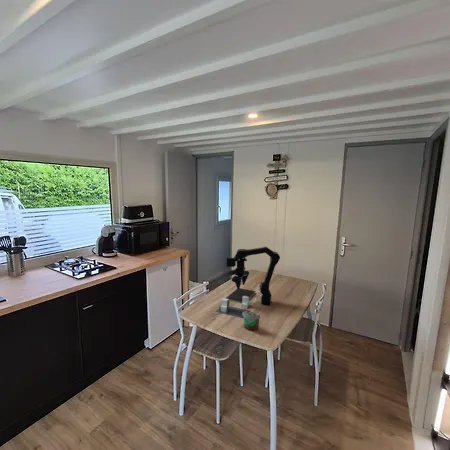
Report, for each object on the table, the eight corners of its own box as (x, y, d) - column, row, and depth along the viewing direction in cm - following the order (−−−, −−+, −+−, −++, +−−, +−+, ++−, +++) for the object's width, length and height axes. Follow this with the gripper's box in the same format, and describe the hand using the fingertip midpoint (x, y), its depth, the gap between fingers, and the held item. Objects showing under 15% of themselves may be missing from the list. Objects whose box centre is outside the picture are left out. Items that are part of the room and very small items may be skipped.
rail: (251, 311, 177) (251, 308, 177) (245, 319, 167) (245, 315, 166) (222, 305, 187) (222, 302, 186) (215, 312, 176) (215, 309, 175)
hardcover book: (255, 293, 208) (255, 291, 208) (244, 305, 188) (244, 302, 188) (237, 290, 216) (237, 287, 215) (224, 300, 196) (224, 298, 195)
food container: (238, 326, 158) (238, 311, 157) (244, 322, 162) (244, 308, 161) (253, 334, 149) (253, 318, 148) (260, 330, 154) (260, 314, 152)
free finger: (249, 305, 186) (250, 295, 185) (246, 309, 180) (246, 299, 179) (243, 304, 188) (244, 294, 187) (240, 308, 182) (240, 298, 181)
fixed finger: (230, 308, 181) (230, 298, 180) (226, 312, 175) (226, 302, 174) (224, 306, 183) (224, 297, 182) (220, 311, 177) (220, 300, 176)
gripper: (236, 262, 198) (236, 281, 201) (224, 268, 182) (225, 289, 184) (249, 263, 193) (249, 283, 195) (239, 270, 177) (239, 292, 179)
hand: (240, 287), depth 189 cm, fingers open, 9 cm apart
